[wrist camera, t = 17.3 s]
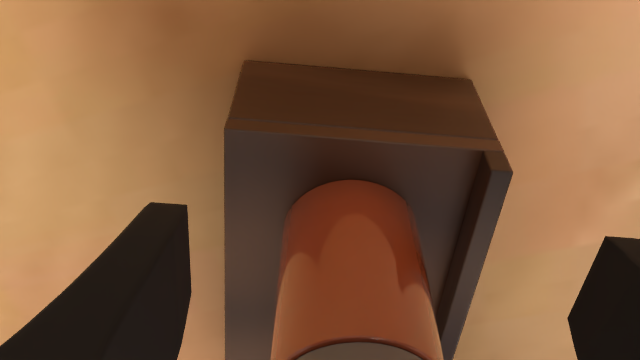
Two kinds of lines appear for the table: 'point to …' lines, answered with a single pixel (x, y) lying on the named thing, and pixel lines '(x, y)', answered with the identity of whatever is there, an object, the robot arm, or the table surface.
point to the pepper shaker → (353, 279)
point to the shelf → (356, 178)
